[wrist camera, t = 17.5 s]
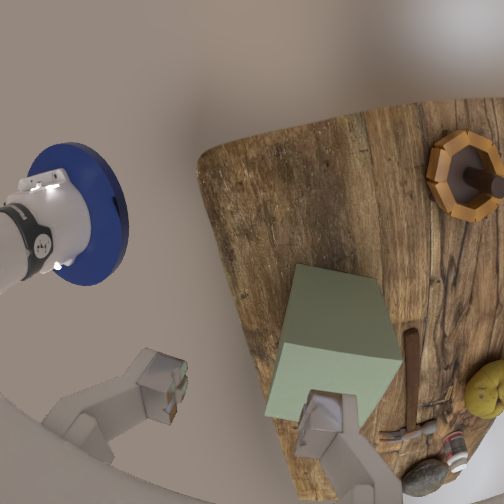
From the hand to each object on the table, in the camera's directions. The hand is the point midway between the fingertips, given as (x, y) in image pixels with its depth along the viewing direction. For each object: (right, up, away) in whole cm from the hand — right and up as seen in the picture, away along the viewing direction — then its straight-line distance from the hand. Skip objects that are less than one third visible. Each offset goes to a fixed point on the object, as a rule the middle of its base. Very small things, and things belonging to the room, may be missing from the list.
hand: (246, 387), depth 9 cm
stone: (+47, -54, +45) cm, 84 cm away
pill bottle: (+48, -39, +38) cm, 73 cm away
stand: (+27, +14, +20) cm, 37 cm away
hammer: (+28, -20, +35) cm, 49 cm away
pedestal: (+11, -3, +31) cm, 33 cm away
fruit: (+44, -18, +30) cm, 56 cm away
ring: (+26, +14, +19) cm, 35 cm away
